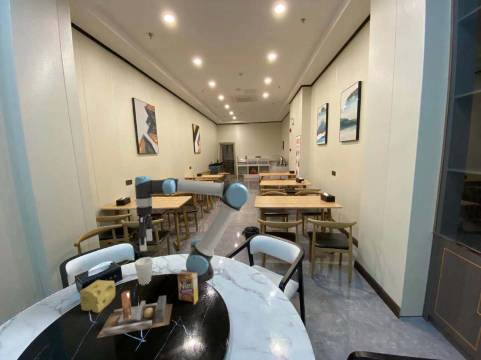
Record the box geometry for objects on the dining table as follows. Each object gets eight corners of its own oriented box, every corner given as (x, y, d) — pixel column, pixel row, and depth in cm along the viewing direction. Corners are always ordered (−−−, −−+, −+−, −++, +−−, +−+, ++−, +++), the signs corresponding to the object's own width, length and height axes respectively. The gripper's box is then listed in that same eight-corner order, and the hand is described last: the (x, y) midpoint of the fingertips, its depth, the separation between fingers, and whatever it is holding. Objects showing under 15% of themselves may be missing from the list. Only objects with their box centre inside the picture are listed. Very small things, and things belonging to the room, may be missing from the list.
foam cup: (133, 282, 117) (132, 261, 116) (149, 275, 124) (148, 255, 123) (140, 288, 111) (139, 266, 110) (156, 281, 118) (155, 260, 117)
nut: (152, 314, 90) (156, 306, 90) (150, 321, 86) (154, 312, 86) (143, 312, 89) (147, 304, 89) (141, 319, 85) (145, 310, 85)
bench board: (172, 306, 96) (171, 291, 96) (169, 327, 84) (168, 311, 83) (110, 317, 91) (109, 301, 90) (97, 341, 78) (95, 323, 77)
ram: (145, 310, 91) (144, 285, 90) (141, 324, 84) (139, 296, 83) (124, 314, 89) (122, 288, 88) (117, 328, 82) (115, 300, 81)
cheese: (98, 313, 93) (96, 293, 92) (79, 310, 95) (78, 290, 94) (116, 298, 103) (115, 280, 102) (99, 296, 105) (97, 278, 105)
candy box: (178, 302, 99) (177, 273, 98) (183, 296, 103) (182, 268, 102) (194, 305, 97) (192, 275, 95) (198, 300, 101) (197, 271, 100)
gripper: (142, 202, 115) (144, 237, 116) (128, 211, 91) (131, 256, 92) (156, 201, 116) (158, 236, 118) (146, 210, 92) (148, 254, 94)
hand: (146, 245), depth 105 cm, fingers open, 13 cm apart
